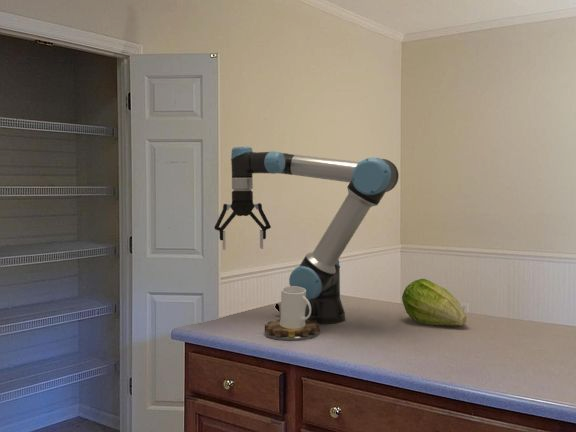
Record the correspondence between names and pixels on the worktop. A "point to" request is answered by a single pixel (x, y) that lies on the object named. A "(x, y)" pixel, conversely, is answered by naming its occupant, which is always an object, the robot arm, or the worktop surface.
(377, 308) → the worktop surface
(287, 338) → the base plate
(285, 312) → the mug
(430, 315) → the lettuce
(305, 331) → the sprocket
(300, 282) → the robot arm
